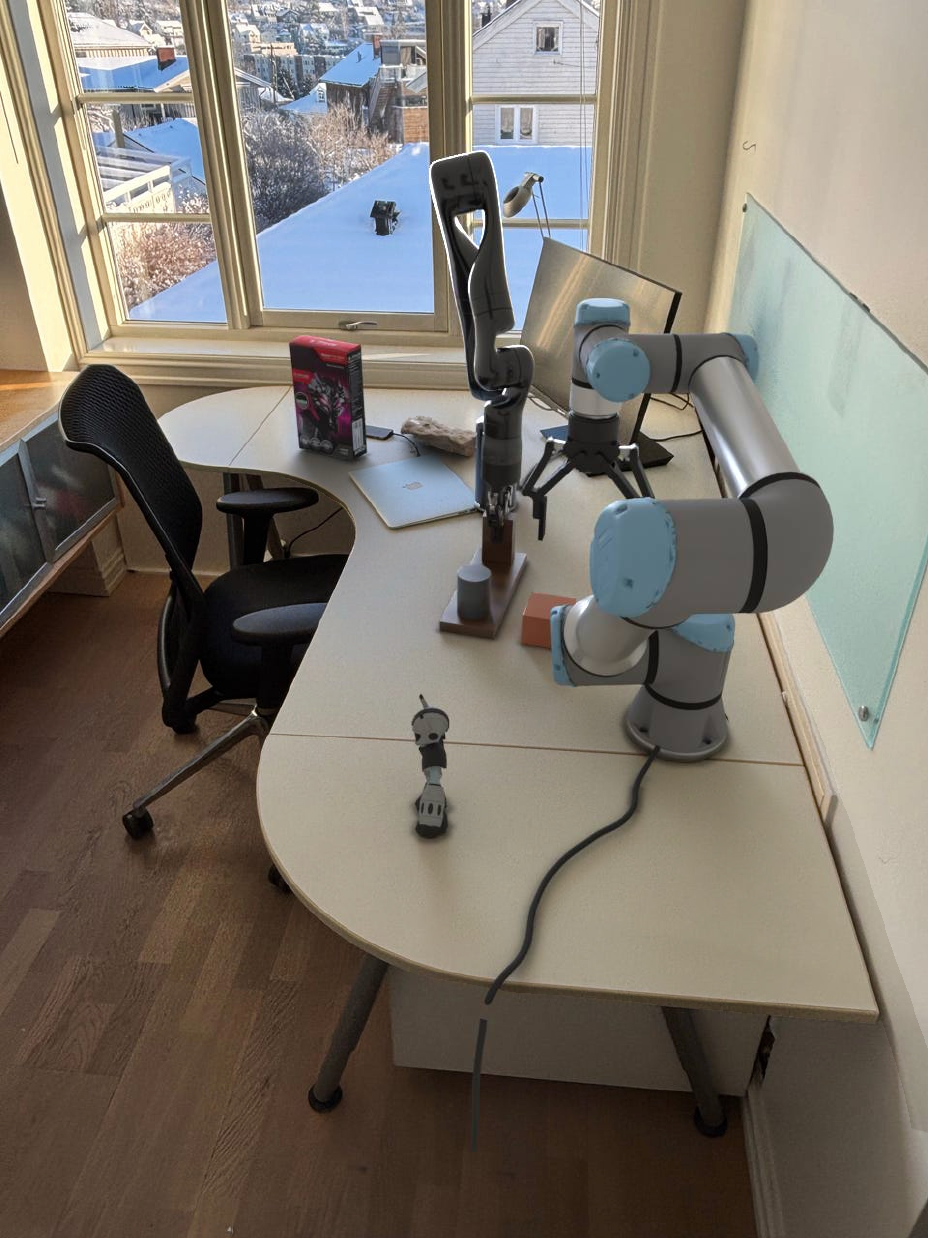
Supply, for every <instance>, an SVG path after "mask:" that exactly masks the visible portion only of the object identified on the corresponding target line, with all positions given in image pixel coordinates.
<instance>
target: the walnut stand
mask: <svg viewBox="0 0 928 1238" xmlns="http://www.w3.org/2000/svg"><path fill="white" fill-rule="evenodd" d="M481 529H482V530H481V546H478V548H477V549H476V552H475V554H474V555H473V557H472V559H471V560H470V563H469V564H466V565H463V566H461V567H459V569H458V570H457V572H456V573H457V574H456V575H457V576H456V578H457V579H456V584H457V585H456V589H455V590H454V593H453V595H452V597H451V598H450V601H449V602H448V604H447V606H446V608H445V610H444V612H443V614H442V615H441V618H440V620H439V631H441V632H448V633H454V634H458V635H459V634H460V635H466V636H471V637H472V636H473V637H477V638H478V637H479V638H485V639H490V640H494V639H495V637H496V635H497V632H498V630H499V627H500V626H501V623H502V621H503V618H504V615H505V613H506V612H507V609H508V607H509V605H510V602H511V600H512V597H513V595H514V593H515V591H516V588H517V585H518V583H519V581H520V578H521V576H522V575H523V572H524V570H525V567H526V565H527V561H528V559H527V558H528V553H523V552H516V534H517V513H516V512H507V513H506V514H505V515H504V525H503V540H502V542H501V543H494V542H492V541H491V527H489V526H488V524H487V516H486V511H485V513H484V512H483V515H482V527H481Z"/></svg>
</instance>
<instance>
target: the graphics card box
mask: <svg viewBox="0 0 928 1238" xmlns="http://www.w3.org/2000/svg"><path fill="white" fill-rule="evenodd" d="M288 348H289V349H288V350H289V358H290V367H291V377H292V389H293V399H294V409H295V418H296V419H295V420H296V428H297V429H296V431H297V437H298V438H297V441H298V448H299V449H301V450H305V451H309V452H313V453H318V454H323V455H327V456H331V457H335V458H339V459H344V460H347V461H351V462H354V461H356V460H358V459H359V458H360V457H362V456H364V455H365V454H367V453H368V445H367V444H368V443H367V426H366V410H365V393H364V377H363V376H364V375H363V356H362V345H361V343H360V344H359V343H351V342H346V341H341V340H335V339H334V340H333V339H329V338H325V337H324V338H323V337H318V336H313V335H308V334H301V335H299V336H297V337H295V338H293V339H292V340H291V341H289V342H288Z"/></svg>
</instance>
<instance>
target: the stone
mask: <svg viewBox="0 0 928 1238" xmlns="http://www.w3.org/2000/svg"><path fill="white" fill-rule="evenodd" d="M400 434H401V435H403V436H404V435H411V436H412V437H413V438H414V439H415V440H418V441H421V443H422V445H424V446H427V447H431V446H433V447H435V448H438V449H440V450H443V451H446V452H451V453H458V454H460V455H462V456H465V457H471V455H473V453H474V452H475V449H476V431H473V430H470V429H461V428H457V427H448V426H447V425H445V424H443V423H440V422H438V421H437V420H434V419H433V418H432V417H429V416H424V415H416V416H414V417H412V416H411V417H410V416H409V417H408V418H406V420H405V421H403V422H402V424H401V427H400Z"/></svg>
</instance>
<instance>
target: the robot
mask: <svg viewBox="0 0 928 1238" xmlns="http://www.w3.org/2000/svg"><path fill="white" fill-rule="evenodd" d="M418 697H419V698H418V699H419V701H420V703H421V705H422V708H421V709H420V710H419V711H418V712H416V714H414V715H413V717H412V720H411V721H410V722H411V723H410V724H411V731H412V732H413V734H414V745H416V746H417V749H418V752H419V753H420V755H421V772H422V773H423V775H424V776H425V780H426V782H425V783H424V786H423V789H422V792H421V793H420V795H419V796H418V797H417V799H416V800H415V802H414V806H415V808H416V811H417V812H418V821H417V822H416V825H415V828H414V831H415V832H416V833H417V834H418V835H419V836H420V837H421V838H424V839H435V838H438V837H439V836H443V835H444V834H446V832H447V829H448V826H449V823H448V816H447V813H446V811H445V810H446V809H447V808H448V805H447V804H448V803H447V796H446V793H445V790H444V787H443V786H442V784H441V782H440V781H441V779H442V777H443V772H442V769H447V768H448V757H447V752H446V749H445V743H444V741H445V740H446V739H447V738H446V733H448V730H449V729H450V718H449V715H448V714H447V712H445V711H444V710H442V709H441V708H439V707H437V706H430V705H429V704H428V702H427V700H426V698H425V697H424V695H423V693H420V694H419V695H418ZM418 746H419V747H418Z"/></svg>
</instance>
